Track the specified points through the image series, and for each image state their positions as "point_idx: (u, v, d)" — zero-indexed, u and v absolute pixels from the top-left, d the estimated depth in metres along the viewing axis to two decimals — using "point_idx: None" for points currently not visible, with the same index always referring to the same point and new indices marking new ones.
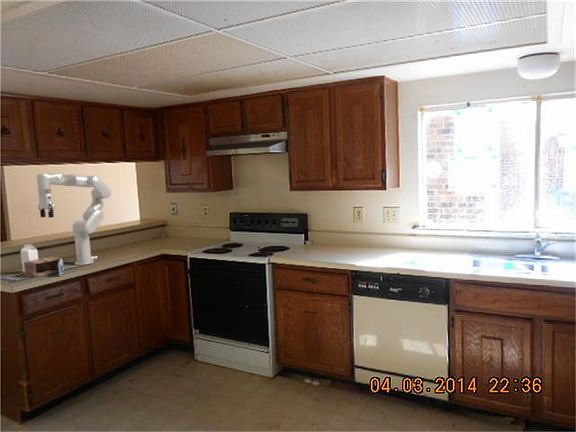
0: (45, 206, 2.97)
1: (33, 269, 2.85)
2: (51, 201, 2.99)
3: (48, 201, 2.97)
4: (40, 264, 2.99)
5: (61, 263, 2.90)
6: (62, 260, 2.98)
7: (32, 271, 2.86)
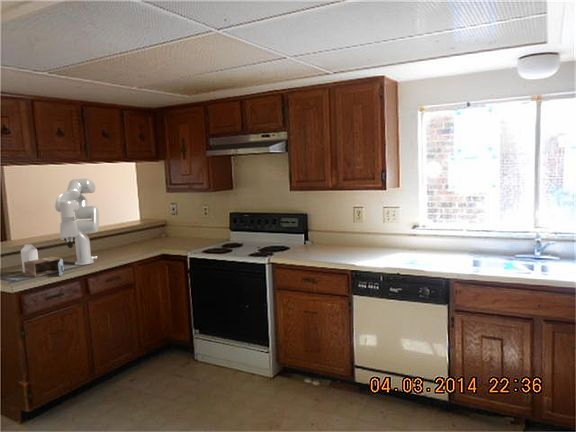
0: (74, 234, 2.88)
1: (33, 269, 2.85)
2: (77, 229, 2.92)
3: (77, 229, 2.90)
4: (40, 264, 2.99)
5: (61, 263, 2.90)
6: (62, 260, 2.98)
7: (32, 271, 2.86)
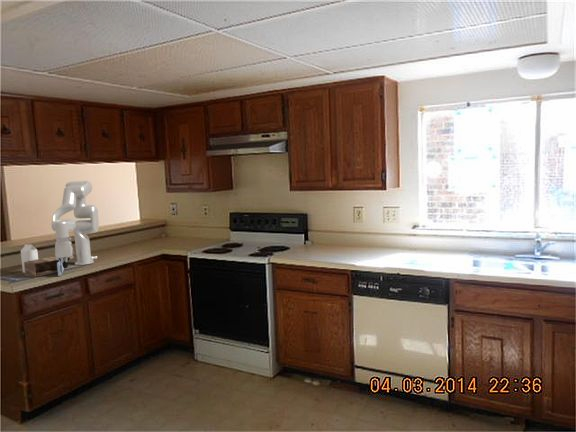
0: (68, 254, 2.87)
1: (33, 269, 2.85)
2: (72, 249, 2.90)
3: (71, 249, 2.88)
4: (40, 264, 2.99)
5: (60, 263, 2.90)
6: None
7: (32, 271, 2.86)
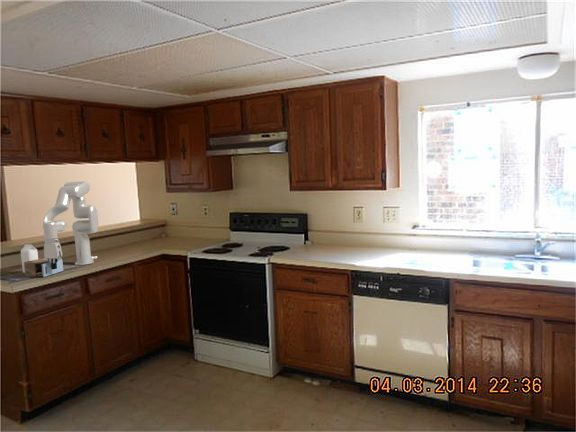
0: (54, 256, 2.84)
1: (33, 269, 2.85)
2: (60, 250, 2.86)
3: (58, 250, 2.84)
4: (40, 264, 2.99)
5: None
6: (60, 260, 2.97)
7: (32, 271, 2.86)
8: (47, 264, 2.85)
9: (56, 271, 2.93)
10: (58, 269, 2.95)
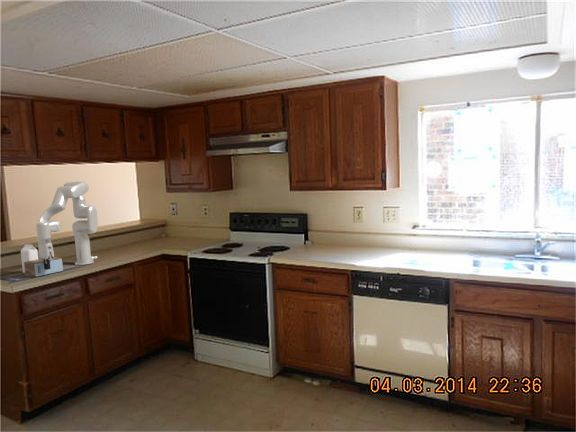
0: (45, 256, 2.84)
1: (33, 269, 2.85)
2: (51, 251, 2.85)
3: (48, 251, 2.83)
4: None
5: None
6: (59, 260, 2.97)
7: (32, 271, 2.86)
8: (41, 264, 2.87)
9: (53, 271, 2.94)
10: (56, 269, 2.95)
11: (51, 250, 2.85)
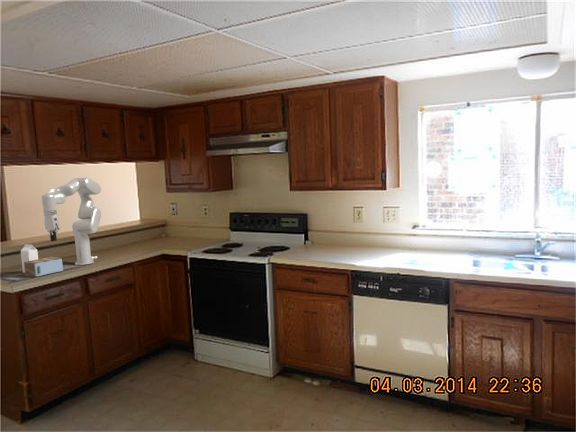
0: (51, 228, 2.88)
1: (33, 269, 2.85)
2: (57, 223, 2.89)
3: (54, 223, 2.88)
4: None
5: (47, 264, 2.90)
6: (59, 260, 2.97)
7: (32, 271, 2.86)
8: (40, 264, 2.87)
9: (53, 271, 2.94)
10: (56, 269, 2.95)
11: (57, 222, 2.89)
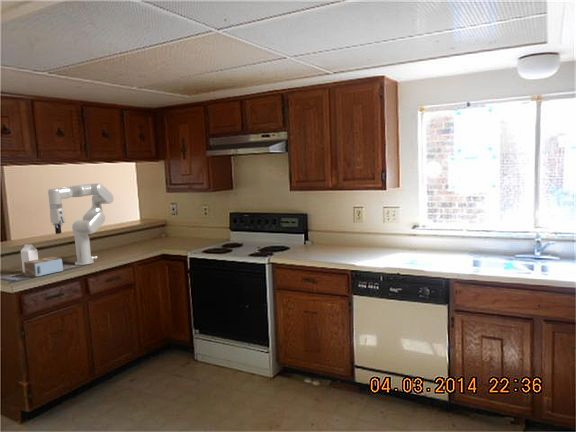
0: (56, 221, 2.99)
1: (33, 269, 2.85)
2: (62, 216, 3.00)
3: (59, 216, 2.99)
4: None
5: (47, 264, 2.90)
6: (59, 260, 2.97)
7: (32, 271, 2.86)
8: (40, 264, 2.87)
9: (53, 271, 2.94)
10: (56, 269, 2.95)
11: (62, 215, 3.00)
